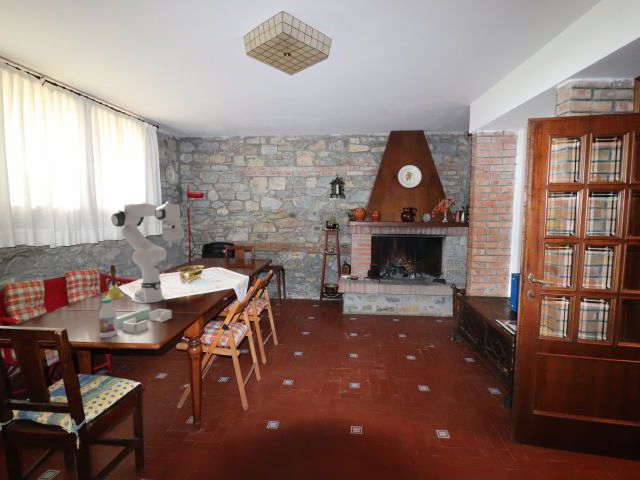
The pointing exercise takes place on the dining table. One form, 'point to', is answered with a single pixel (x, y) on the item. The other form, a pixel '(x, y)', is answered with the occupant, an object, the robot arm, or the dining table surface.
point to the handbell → (113, 286)
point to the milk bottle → (107, 319)
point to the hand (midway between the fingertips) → (174, 245)
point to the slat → (133, 316)
